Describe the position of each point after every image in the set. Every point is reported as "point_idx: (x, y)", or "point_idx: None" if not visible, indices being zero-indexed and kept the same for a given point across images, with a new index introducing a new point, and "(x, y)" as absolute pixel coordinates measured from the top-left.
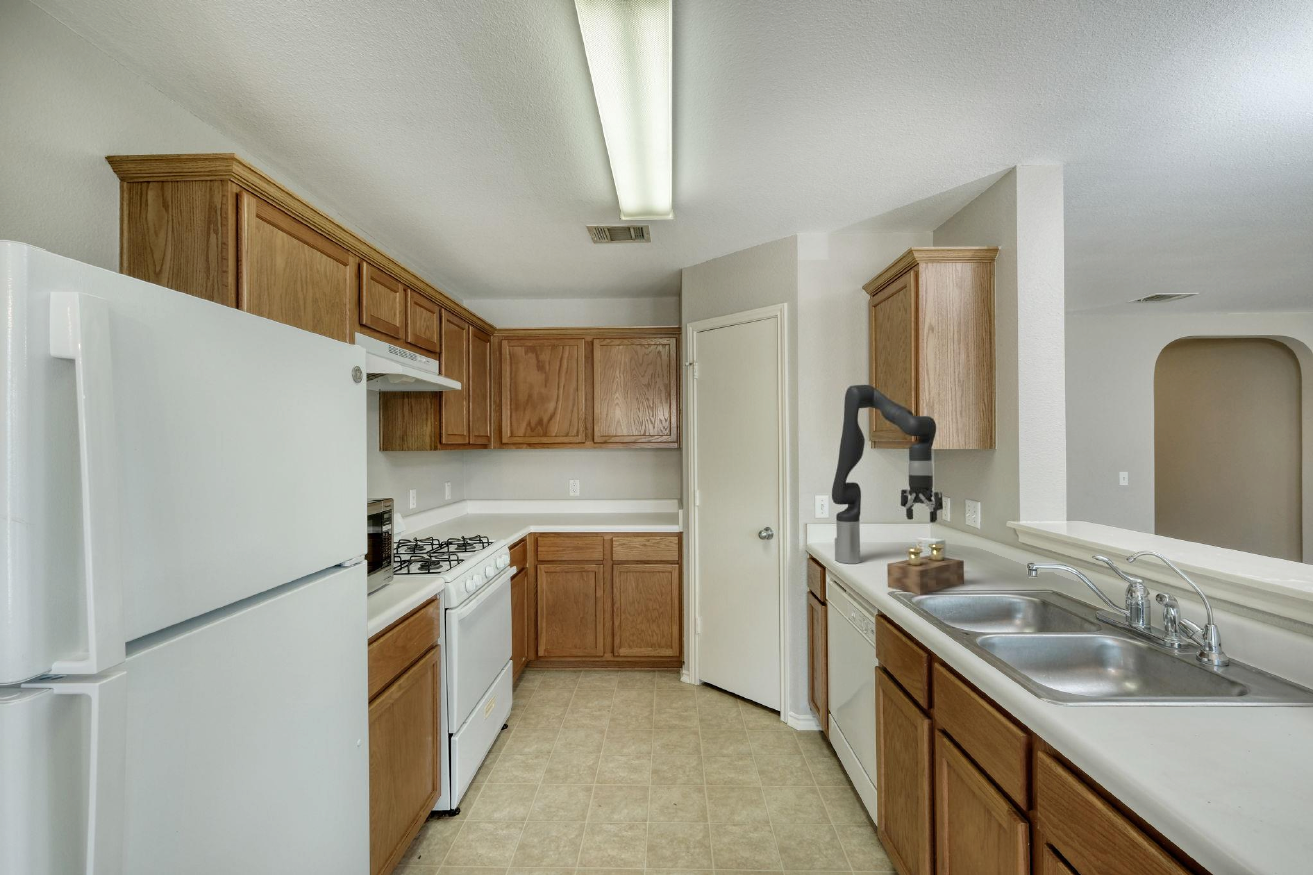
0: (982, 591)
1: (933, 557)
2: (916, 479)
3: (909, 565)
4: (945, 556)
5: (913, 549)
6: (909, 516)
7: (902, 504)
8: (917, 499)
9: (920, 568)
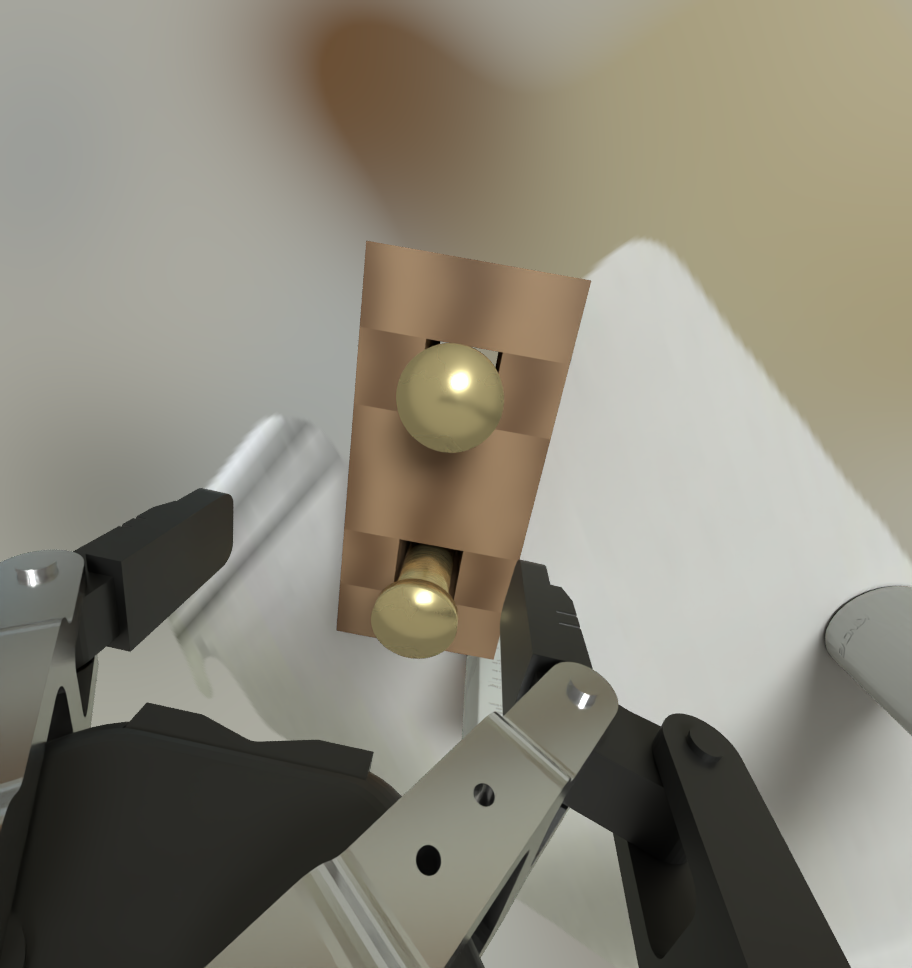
0: (272, 504)
1: (429, 559)
2: None
3: (469, 336)
4: (463, 714)
5: (443, 369)
6: (519, 583)
7: (694, 744)
8: (256, 840)
9: (389, 301)
